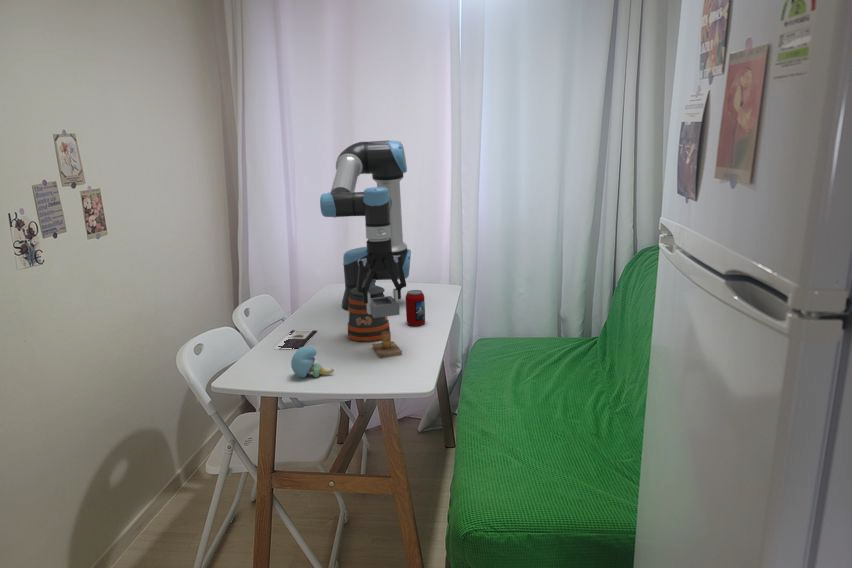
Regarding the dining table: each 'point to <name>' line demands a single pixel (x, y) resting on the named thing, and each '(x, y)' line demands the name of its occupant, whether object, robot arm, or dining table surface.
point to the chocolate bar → (298, 338)
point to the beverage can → (415, 307)
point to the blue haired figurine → (307, 363)
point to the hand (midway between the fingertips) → (382, 311)
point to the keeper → (386, 346)
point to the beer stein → (365, 316)
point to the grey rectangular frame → (384, 307)
